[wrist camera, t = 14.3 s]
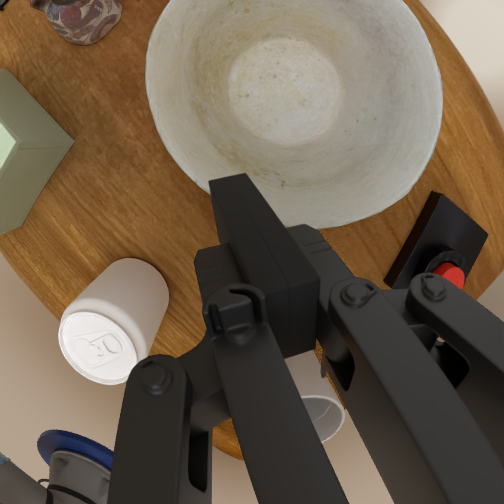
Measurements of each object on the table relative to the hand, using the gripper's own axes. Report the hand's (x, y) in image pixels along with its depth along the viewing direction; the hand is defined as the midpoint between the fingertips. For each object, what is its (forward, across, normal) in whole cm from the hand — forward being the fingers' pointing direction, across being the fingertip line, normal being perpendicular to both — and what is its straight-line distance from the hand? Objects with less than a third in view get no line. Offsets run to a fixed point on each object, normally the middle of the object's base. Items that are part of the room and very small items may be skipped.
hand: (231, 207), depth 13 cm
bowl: (+19, +10, +1) cm, 21 cm away
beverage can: (+16, -10, -16) cm, 25 cm away
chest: (+25, -22, +2) cm, 33 cm away
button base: (+9, +25, -17) cm, 31 cm away
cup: (+10, +5, -26) cm, 28 cm away
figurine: (+27, -8, +14) cm, 31 cm away
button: (+6, +23, -17) cm, 29 cm away
